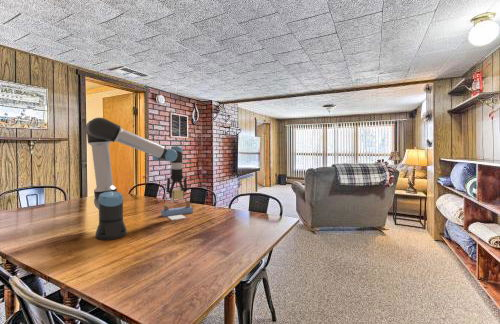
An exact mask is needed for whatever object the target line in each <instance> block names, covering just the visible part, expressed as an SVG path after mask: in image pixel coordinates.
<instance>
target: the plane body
mask: <svg viewBox="0 0 500 324" xmlns="http://www.w3.org/2000/svg"><path fill="white" fill-rule="evenodd" d="M163 207H164V209H160V210H161V211H160V214H161V217H163V218H164V217H168V216H175V215H186V214H187V215H188V214H192V213H194V208H193V206H191V200H185V206H182V207H175V208H173V207H172V208H170V207H169V205H168V204H166V205H163Z"/></svg>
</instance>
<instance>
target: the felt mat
mask: <svg viewBox="0 0 500 324" xmlns="http://www.w3.org/2000/svg"><path fill="white" fill-rule="evenodd" d="M167 219H169V220H171V221H178V220H185V219H187V216H185V215H184V214H180V215H173V216H167Z"/></svg>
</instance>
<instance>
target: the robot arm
mask: <svg viewBox="0 0 500 324" xmlns="http://www.w3.org/2000/svg"><path fill="white" fill-rule="evenodd" d="M84 130H85V133H86V137H87V144H88V145H90V146H91V151H92V160H93V161H92V162H93V169H94V176H95V177H94V178H95V185H96V186H95V187H96V188H95V189H94V190H93V194H94V195H93V196H94V200H93V201H94V206H95V207H96V208H97V209H98V210H97V211H98V225H97V228H96V230H95V231H96V232H95V235H94V236H95V239H96V240H99V241H108V240H110V241H111V240H116V239H117V240H118V239H121V238H123V237H125V236H127V233H128V230H127V226H126V225H125V222H124V196H123V194H122V193H121V192H119V191H118V188H117V187H116V186H115V185H114V182H113V181H114V180H113V179H114V178H113V171H112V170H113V169H112V164H111V162H112V161H111V153H110V144H111V143H115V142H118V143H120V144H122V145H124V146H128V147H130V148H133V149H136V150H137V151H140V152H143V153H146V154H148V155H151V156H152V159H153V161H155V162H157V161H158V162H159V161H163V162H169V163H170V168H171V170H170V171H171V172H170V173H171V174H170V177H167V178H166V189H165V190H166V191H165V192H166V193H168V197H169V199H170V203H171V204H174V199H173V193H172V191H173V190H174V187H175V184H176V183H178V184H179V187H180V190H183V198H184V197H185V193H186V192H187V191H188V185H187V179H188V177H187V176H184V175H183V147H182V146H173V145H172V146H171V147H170V148H168V147H166V146H163V145H161V144H160V143H156V142H154V141H152V140H149V139H147V138H144V137H142V136H140V135H137V134H135V133H133V132H130V131H128V130H127V129H123V128H122V126H121V125H119V124H117V123H115V122H113V121H110V120H109V119H107V118H104V117H95V118H92V119H91V120H89V121H88V122H87V123H86V125H85V128H84ZM182 180H183V181H182ZM180 202H182V203H183V202H184V199H180Z"/></svg>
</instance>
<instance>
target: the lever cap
mask: <svg viewBox="0 0 500 324" xmlns="http://www.w3.org/2000/svg"><path fill="white" fill-rule="evenodd" d="M172 193H173V201H174V200H181V199H183V200H184V197H183V190H181V188H177V189H173V191H172Z"/></svg>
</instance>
